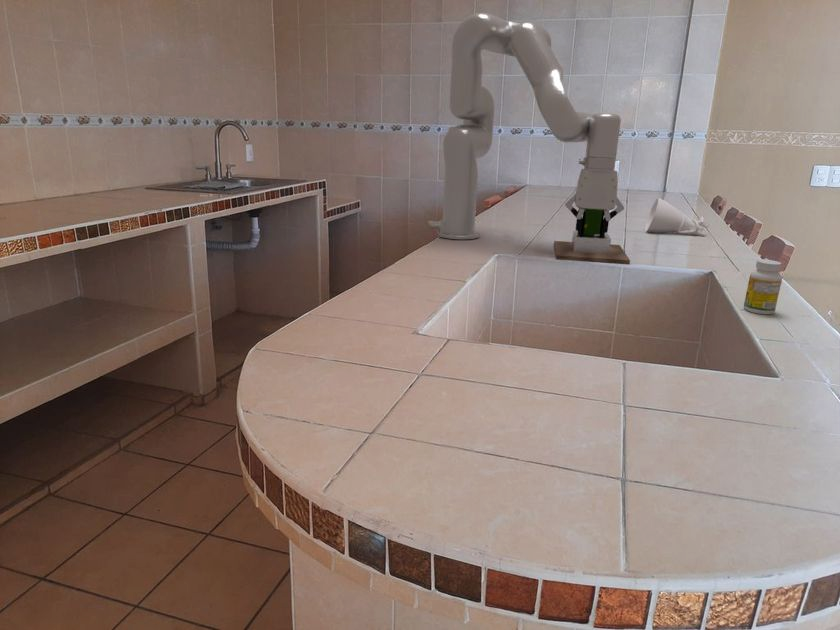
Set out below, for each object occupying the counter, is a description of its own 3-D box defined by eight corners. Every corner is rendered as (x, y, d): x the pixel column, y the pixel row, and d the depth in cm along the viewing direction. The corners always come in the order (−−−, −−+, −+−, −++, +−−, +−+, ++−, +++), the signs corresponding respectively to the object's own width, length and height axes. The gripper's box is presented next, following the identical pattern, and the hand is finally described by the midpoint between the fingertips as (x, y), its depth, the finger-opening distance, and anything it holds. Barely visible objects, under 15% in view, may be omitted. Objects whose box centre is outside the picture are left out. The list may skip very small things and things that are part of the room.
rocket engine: (717, 206, 190) (660, 190, 193) (712, 233, 185) (654, 216, 188) (702, 228, 200) (648, 213, 203) (697, 255, 195) (642, 238, 198)
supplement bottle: (771, 316, 111) (782, 266, 108) (739, 310, 114) (750, 261, 111) (777, 310, 115) (788, 261, 112) (746, 304, 118) (756, 257, 115)
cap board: (556, 259, 153) (558, 239, 151) (554, 244, 171) (555, 226, 170) (629, 264, 150) (632, 244, 148) (619, 248, 168) (621, 230, 167)
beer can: (604, 245, 160) (610, 200, 156) (591, 247, 156) (597, 201, 153) (587, 242, 164) (592, 197, 160) (575, 244, 160) (580, 198, 156)
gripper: (566, 163, 151) (558, 234, 157) (636, 167, 148) (626, 239, 154) (564, 161, 158) (557, 230, 164) (632, 165, 156) (622, 234, 161)
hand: (590, 233), depth 159 cm, fingers closed on beer can, 5 cm apart
